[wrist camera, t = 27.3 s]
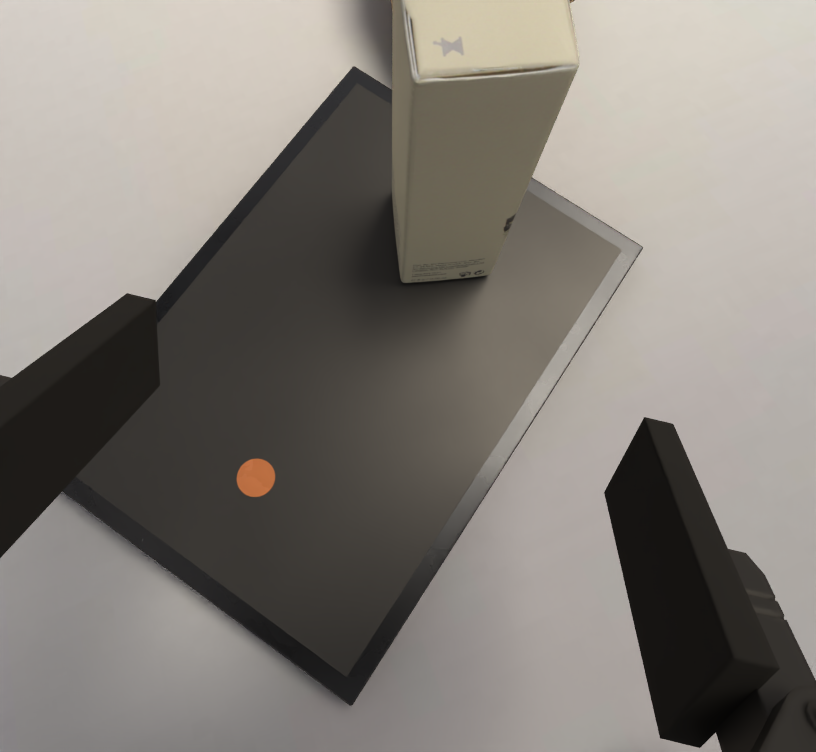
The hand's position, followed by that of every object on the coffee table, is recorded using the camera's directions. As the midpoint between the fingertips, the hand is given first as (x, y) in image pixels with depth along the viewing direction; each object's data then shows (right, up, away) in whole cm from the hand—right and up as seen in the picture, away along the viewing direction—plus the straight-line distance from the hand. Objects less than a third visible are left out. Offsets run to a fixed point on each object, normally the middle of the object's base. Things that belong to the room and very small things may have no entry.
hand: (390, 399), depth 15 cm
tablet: (-2, +2, +11) cm, 12 cm away
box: (+2, +7, +12) cm, 14 cm away
